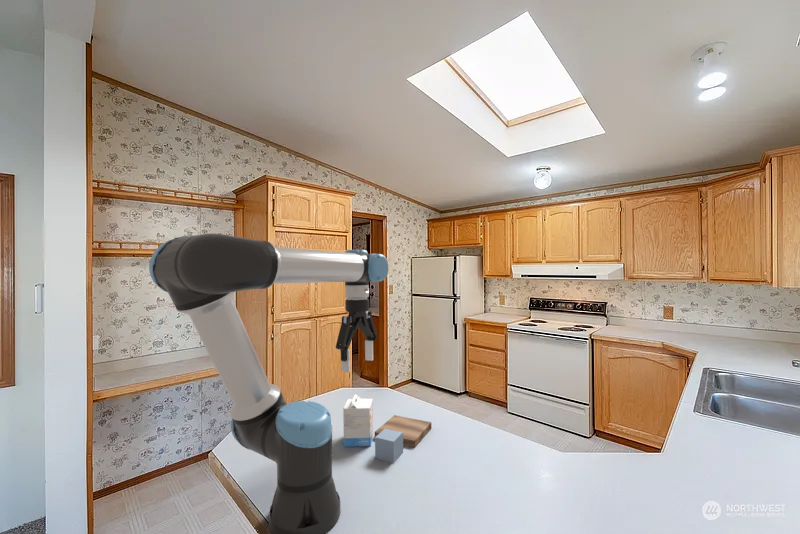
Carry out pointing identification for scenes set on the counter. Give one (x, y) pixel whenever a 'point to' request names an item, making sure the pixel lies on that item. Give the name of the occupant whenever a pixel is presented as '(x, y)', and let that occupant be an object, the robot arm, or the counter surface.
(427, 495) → the counter surface
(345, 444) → the ink box
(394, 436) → the cube
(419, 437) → the board
